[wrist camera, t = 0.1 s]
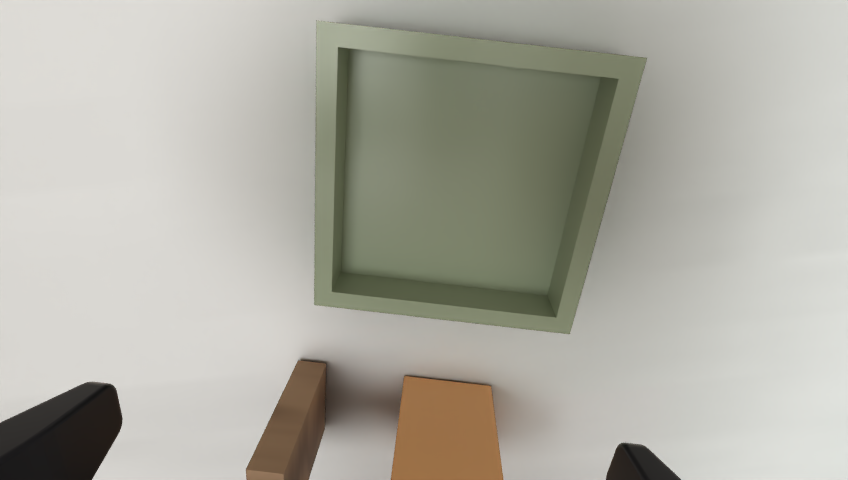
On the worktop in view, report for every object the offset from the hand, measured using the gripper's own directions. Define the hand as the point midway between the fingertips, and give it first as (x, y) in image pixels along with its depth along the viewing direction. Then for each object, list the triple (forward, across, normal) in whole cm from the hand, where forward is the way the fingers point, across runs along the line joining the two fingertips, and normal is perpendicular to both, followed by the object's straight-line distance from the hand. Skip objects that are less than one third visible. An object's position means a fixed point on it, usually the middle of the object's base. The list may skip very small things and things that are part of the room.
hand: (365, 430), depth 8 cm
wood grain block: (+14, +5, +13) cm, 20 cm away
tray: (+14, -2, -1) cm, 15 cm away
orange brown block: (+14, -3, +13) cm, 20 cm away
